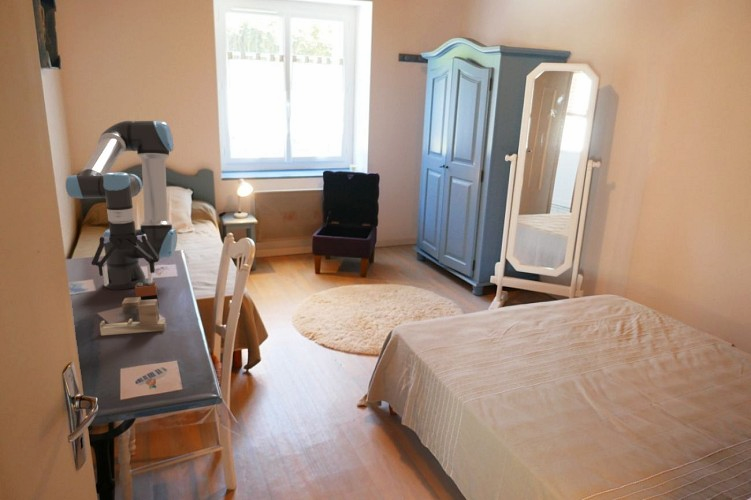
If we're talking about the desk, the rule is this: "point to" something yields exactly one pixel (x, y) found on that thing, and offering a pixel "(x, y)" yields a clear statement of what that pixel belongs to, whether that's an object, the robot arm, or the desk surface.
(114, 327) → the rail
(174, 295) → the desk surface
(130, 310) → the cardboard box
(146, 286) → the battery
